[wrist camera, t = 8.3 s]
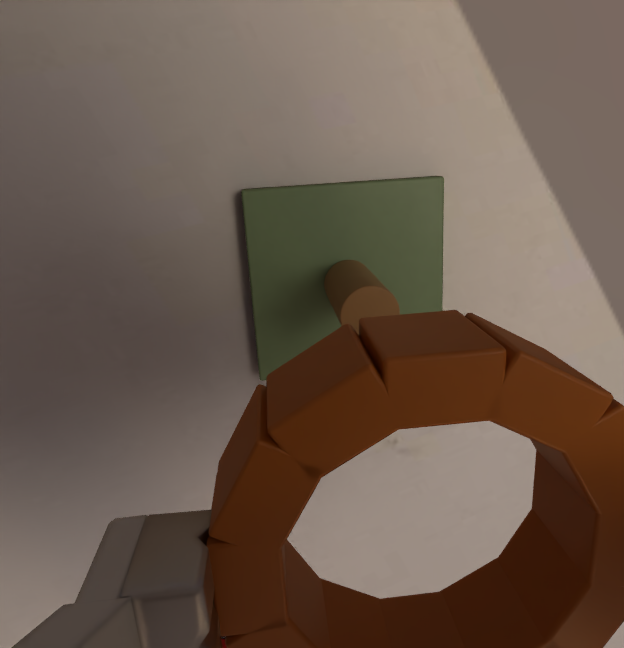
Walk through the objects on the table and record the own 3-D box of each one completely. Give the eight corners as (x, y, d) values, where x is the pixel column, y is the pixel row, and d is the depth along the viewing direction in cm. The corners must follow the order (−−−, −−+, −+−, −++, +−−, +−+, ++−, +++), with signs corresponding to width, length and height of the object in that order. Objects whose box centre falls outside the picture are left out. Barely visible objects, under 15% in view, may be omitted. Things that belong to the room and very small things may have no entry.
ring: (198, 330, 8) (180, 376, 6) (607, 296, 8) (695, 331, 7) (241, 655, 10) (236, 759, 8) (571, 614, 10) (633, 705, 9)
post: (241, 189, 21) (234, 198, 16) (438, 175, 22) (494, 181, 16) (259, 374, 24) (258, 436, 18) (436, 358, 24) (484, 413, 19)
